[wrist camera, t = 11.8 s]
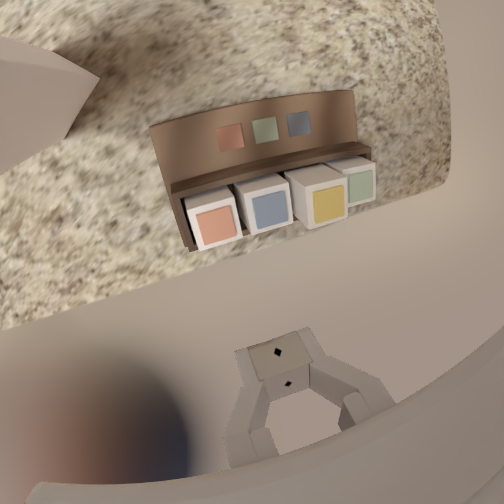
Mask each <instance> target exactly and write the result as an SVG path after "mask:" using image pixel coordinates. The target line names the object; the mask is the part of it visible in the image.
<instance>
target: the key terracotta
mask: <svg viewBox="0 0 504 504" xmlns="http://www.w3.org/2000/svg"><path fill="white" fill-rule="evenodd" d="M184 200H185V205H186V210H187V213H188V217H189V220H190V223H191V227H192V230H193V233H194V236H195V239H196V243H197V246H198V249H199V251H202V250H205V249H209V248H212V247H215V246H219V245H222V244H225V243H228V242H232V241H235V240H238V239H242V238H243V235H242V231H241V226H240V221H239V217H238V212H237V208H236V203H235V199H234V196H233V194H232V193H231V191H230V190H229V188H228V187H227V185H225V186H221V187H217V188H214V189H210V190H207V191H203V192H200V193H196V194H193V195H190V196H186V197H184Z"/></svg>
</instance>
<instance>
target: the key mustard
mask: <svg viewBox="0 0 504 504" xmlns="http://www.w3.org/2000/svg"><path fill="white" fill-rule="evenodd" d="M284 174H285V180H286V181H288V182H289V190H290V197H291V206H292V213H293V214H294V215H295V216H296V217H297V218H298V219H299V220H300V221H301V222H302V223H303V224H304V225H305V226H306V227H307V229H308V230H310V229H314V228H317V227H320V226H324V225H327V224H330V223H334V222H337V221H340V220H344V219H347V218H348V198H347V177H346V176H344V175H342V174H340V173H339V172H337V171H335V170H333V169H331V168H329V167H327V166H325V165H323V164H319V165H314V166H309V167H305V168H300V169H296V170H292V171H287V172H284Z"/></svg>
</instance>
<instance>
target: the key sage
mask: <svg viewBox="0 0 504 504" xmlns="http://www.w3.org/2000/svg"><path fill="white" fill-rule="evenodd" d="M319 163H320V164H323V165H325V166H327V167H329V168H331V169H333V170H335V171H337V172H339V173H340V174H342V175H344V176H346V177H347V198H348V207H352V206H356V205H359V204H363V203H366V202H370V201H373V200H375V199H376V163H374V162H372V161H370V160H368V159H365V158H363V157H361V156H358V155H354V156H349V157H344V158H339V159H334V160H329V161H324V162H319Z"/></svg>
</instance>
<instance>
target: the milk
mask: <svg viewBox="0 0 504 504" xmlns="http://www.w3.org/2000/svg"><path fill="white" fill-rule="evenodd" d="M99 80H100V78H99V77H97V76H95V75H94V74H92V73H90V72H88V71H87V70H85V69H83V68H81V67H80V66H78V65H76V64H74V63H72V62H71V61H69V60H67V59H65V58H63V57H62V56H60V55H58V54H56V53H54V52H52V51H50V50H47V49H44V48H41V47H37V46H34V45H31V44H27V43H24V42H20V41H17V40H13V39H9V38H6V37H2V36H0V175H2V174H3V173H5V172H7V171H8V170H10V169H11V168H13V167H15V166H16V165H18V164H20V163H21V162H23V161H25V160H26V159H28V158H30V157H32V156H33V155H35V154H37V153H39V152H41V151H43V150H44V149H46V148H48V147H50V146H52V145H54V144H56V143H58V142H60V141H62V140H64V138H65V136H66V135H67V133H68V131H69V129H70V127H71V125H72V124H73V122H74V120H75V118H76V117H77V115H78V113H79V112H80V110H81V108H82V107H83V105H84V103H85V102H86V100H87V99H88V97H89V95H90V94H91V92H92V91H93V89H94V88H95V86H96V85H97V83H98V82H99Z"/></svg>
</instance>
